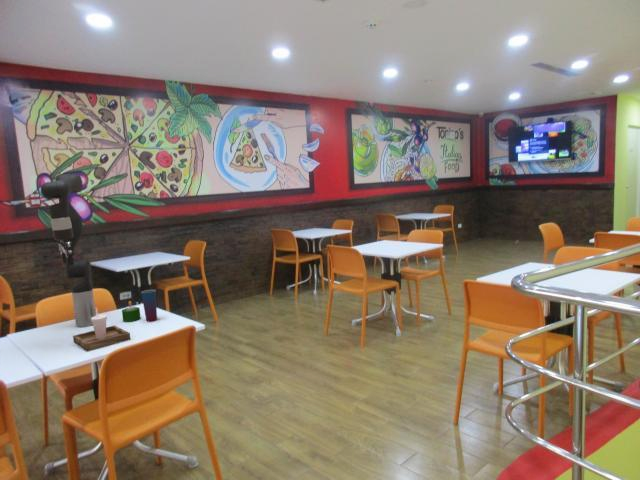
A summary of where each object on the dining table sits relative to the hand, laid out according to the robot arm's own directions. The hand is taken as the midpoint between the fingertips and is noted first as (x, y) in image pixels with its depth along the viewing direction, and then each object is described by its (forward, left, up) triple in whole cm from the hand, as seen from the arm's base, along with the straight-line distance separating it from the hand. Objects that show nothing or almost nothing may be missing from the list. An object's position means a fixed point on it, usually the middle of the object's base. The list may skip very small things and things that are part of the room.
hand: (68, 264), depth 201 cm
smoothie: (+12, +6, -34) cm, 36 cm away
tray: (+12, +6, -35) cm, 37 cm away
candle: (-10, +28, -35) cm, 46 cm away
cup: (0, +34, -35) cm, 49 cm away
